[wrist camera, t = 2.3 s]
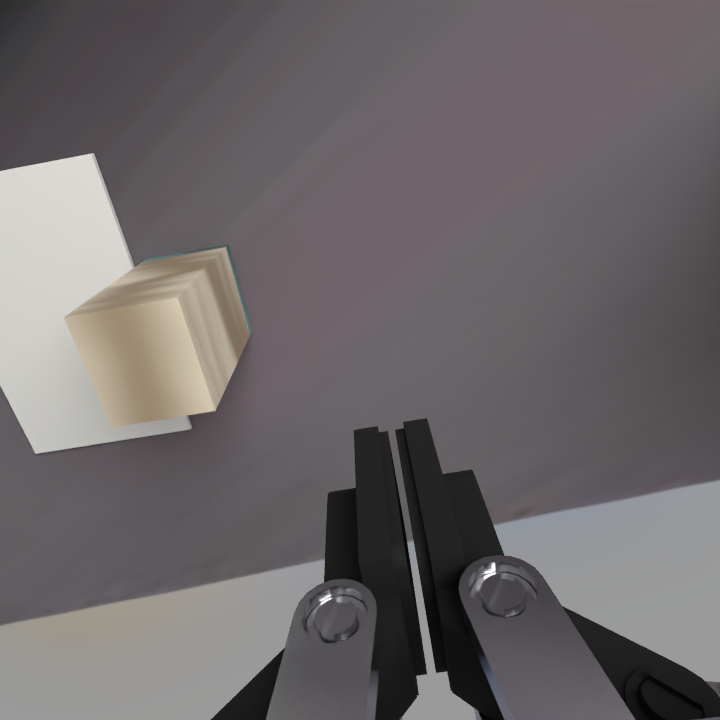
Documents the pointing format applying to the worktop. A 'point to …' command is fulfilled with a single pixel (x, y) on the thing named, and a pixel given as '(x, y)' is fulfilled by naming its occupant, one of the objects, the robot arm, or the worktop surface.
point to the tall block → (164, 336)
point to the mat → (58, 300)
